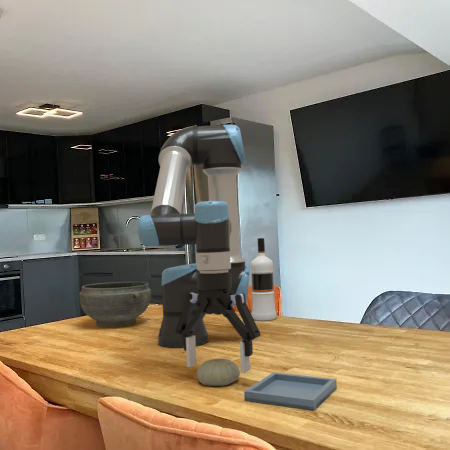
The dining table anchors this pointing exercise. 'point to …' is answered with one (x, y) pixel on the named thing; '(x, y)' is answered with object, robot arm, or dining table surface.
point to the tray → (291, 390)
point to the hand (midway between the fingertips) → (217, 368)
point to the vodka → (262, 286)
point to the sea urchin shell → (218, 372)
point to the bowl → (115, 302)
